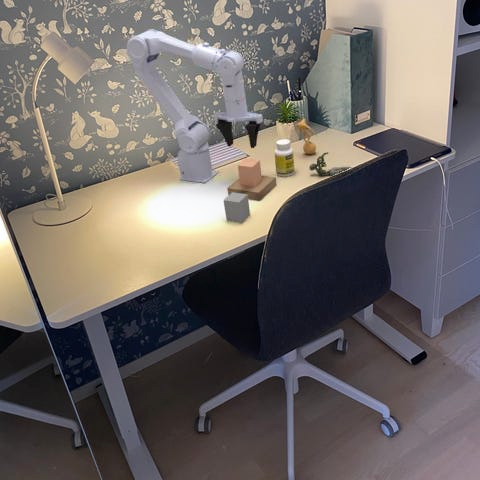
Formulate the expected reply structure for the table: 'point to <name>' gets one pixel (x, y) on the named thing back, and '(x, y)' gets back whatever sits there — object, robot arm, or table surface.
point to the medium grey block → (237, 207)
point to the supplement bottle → (284, 158)
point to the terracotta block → (249, 172)
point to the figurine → (308, 146)
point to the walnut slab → (254, 188)
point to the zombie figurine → (323, 172)
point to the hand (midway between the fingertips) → (242, 145)
